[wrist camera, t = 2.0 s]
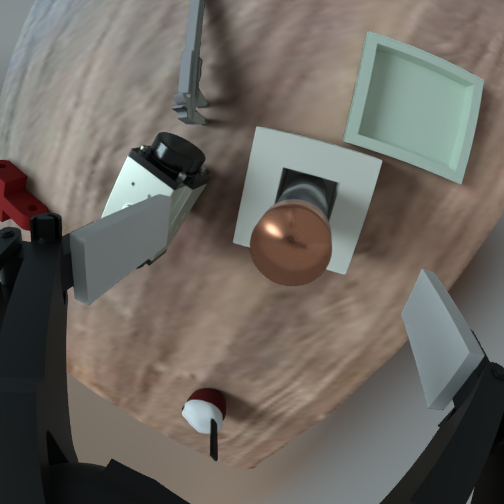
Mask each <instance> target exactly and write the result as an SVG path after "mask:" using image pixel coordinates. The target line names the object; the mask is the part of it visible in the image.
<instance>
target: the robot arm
mask: <svg viewBox="0 0 504 504" xmlns="http://www.w3.org/2000/svg"><path fill="white" fill-rule="evenodd" d="M171 200H172V197H170V196H166V195H162V194H158V195H155V196H153V197H150V198H148V199H145V200H143V201H141V202H138V203H136V204H133V205H131V206H129V207H126V208H124V209H122V210H119V211H117V212H115V213H113V214H110V215H108V216H106V217H104V218H101V219H99V220H97V221H95V222H92V223H90V224H87V225H85V226H83V227H81V228H79V229H77V230H75V231H73V232H70V233H68V234H66V235H64V236H62V219H61V216H60V215H58V214H55V213H42V214H38V215H35V216H33V217H32V218H31V219H30V232H31V242H27V241H22V236H21V230H20V229H18V228H14V227H5V228H3V229H1V230H0V279H1V282H0V504H190V503H188V502H187V501H185V500H183V499H182V498H181V497H179V496H177V495H176V494H174V493H173V492H171V491H170V490H169V489H167V488H166V487H164V486H163V485H161V484H160V483H159V482H157V481H156V480H154V479H152V478H150V477H147V476H145V475H143V474H141V473H139V472H137V471H135V470H133V469H130V468H129V467H127V466H125V465H123V464H121V463H119V462H117V461H115V460H114V459H111V460H110V462H109V464H108V465H107V467H104V466H100V465H95V464H89V463H79V462H78V459H77V456H76V453H75V450H74V446H73V442H72V435H71V427H70V418H69V407H68V393H67V372H66V327H67V306H68V294H67V290H68V289H69V288H71V287H72V286H73V287H74V296H75V299H77V300H79V301H81V302H83V303H85V304H87V305H90V304H91V303H93V302H94V301H95V300H96V299H98V298H99V297H100V296H101V295H103V294H104V293H105V292H106V291H108V290H109V289H110V288H111V287H113V286H114V285H115V284H117V283H118V282H119V281H120V280H122V279H123V278H124V277H126V276H127V275H128V274H129V273H131V272H132V271H133V270H135V269H136V268H137V267H139V266H140V265H141V264H143V263H144V262H145V261H147V260H148V259H149V258H150V257H152V256H153V255H154V254H156V253H157V252H159V251H160V250H161V249H163V248H164V247H165V246H167V235H168V226H169V217H170V208H171ZM401 316H402V319H403V322H404V325H405V328H406V331H407V334H408V337H409V340H410V344H411V347H412V350H413V354H414V357H415V361H416V364H417V368H418V371H419V375H420V379H421V383H422V387H423V391H424V394H425V399H426V403H427V407H428V409H436V410H444V409H445V407H446V406H447V405H448V404H449V403H450V401H451V400H452V399H453V402H454V406H455V407H454V408H453V409H452V411H450V413H449V414H448V415H447V416H446V417H445V418H444V419H443V420H442V422H441V423H440V424H439V425H438V426H439V427H440V426H441V427H440V428H439V430H438V431H437V433H436V434H435V436H434V437H433V439H432V440H431V441H430V443H429V444H428V446H427V447H426V448H425V450H424V451H423V453H422V454H421V455H420V456H419V458H418V459H417V460H416V462H415V463H414V464H413V466H412V467H411V468H410V469H409V471H408V472H407V473H406V474H405V476H404V477H403V478H402V479H401V480H400V481H399V483H398V484H397V485H396V486H395V487H394V488H393V490H392V491H391V492H390V493H389V494H388V495H387V496H386V497H385V499H383V501H382V502H381V503H380V504H466V502H467V501H468V499H469V497H470V495H471V493H472V491H473V489H474V492H473V496H472V501H471V504H504V368H503V367H502V366H500V365H499V364H497V363H494V362H490V361H489V360H488V358H487V356H486V354H485V352H484V350H483V348H482V347H481V345H480V343H479V341H477V340H478V339H477V337H476V335H475V334H474V332H473V331H472V330H471V329H470V328H469V326H468V325H467V323H466V321H465V320H464V318H463V316H462V315H461V313H460V311H459V310H458V308H457V306H456V305H455V303H454V302H453V300H452V299H451V297H450V295H449V294H448V292H447V291H446V289H445V288H444V286H443V285H442V283H441V282H440V280H439V279H438V277H437V276H436V274H435V273H434V272H432V271H429V270H426V269H423V268H422V270H421V272H420V274H419V277H418V279H417V281H416V283H415V286H414V288H413V290H412V292H411V294H410V296H409V298H408V300H407V303H406V305H405V307H404V309H403V311H402V313H401ZM474 487H475V488H474Z"/></svg>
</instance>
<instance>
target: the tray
mask: <svg viewBox="0 0 504 504" xmlns="http://www.w3.org/2000/svg"><path fill="white" fill-rule="evenodd" d="M483 82H484V80H482V79H481V78H479V77H477V76H475V75H473V74H472V73H470V72H468V71H466V70H464V69H462V68H460V67H458V66H456V65H454V64H452V63H450V62H448V61H446V60H444V59H441V58H439V57H437V56H435V55H432V54H430V53H428V52H425V51H423V50H421V49H418V48H416V47H413V46H411V45H408V44H405V43H403V42H400V41H397V40H394V39H391V38H389V37H386V36H383V35H379V34H376V33H373V32H370V31H368V32H367V35H366V37H365V40H364V46H363V51H362V56H361V61H360V66H359V71H358V75H357V80H356V85H355V89H354V94H353V98H352V103H351V107H350V111H349V116H348V120H347V124H346V128H345V132H344V136H343V140H342V141H344V142H347V143H351V144H354V145H357V146H360V147H363V148H367V149H370V150H373V151H376V152H379V153H382V154H385V155H387V156H390V157H393V158H396V159H399V160H401V161H404V162H407V163H409V164H412V165H415V166H417V167H420V168H422V169H425V170H427V171H430V172H432V173H435V174H437V175H440V176H442V177H444V178H447V179H449V180H451V181H454V182H456V183H458V184H460V185H461V184H462V180H463V177H464V174H465V170H466V166H467V163H468V159H469V155H470V151H471V147H472V143H473V138H474V134H475V129H476V124H477V119H478V114H479V108H480V102H481V96H482V89H483Z"/></svg>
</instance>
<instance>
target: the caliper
mask: <svg viewBox="0 0 504 504" xmlns="http://www.w3.org/2000/svg"><path fill="white" fill-rule="evenodd" d="M204 6H205V0H191V1H190V8H189V16H188V23H187V31H186V40H185V49H184V51H183V52H182V58H181V67H180V77H179V88H178V94H174V95H172V96H173V98H174V100H175V102H176V103H177V104H178V105H176V106H173V107H172V108H171V109H173V110H175V111H176V112H177V118H178V119H179V120H181V121H182V122H184V123H185V124H194V125H195V124H207V121H208V119H207V118H205V117H204V116H202V115H201V114H200V113H199V112H197V111H196V110H195V108H196V107H198V108H204V107H207V101H206V99H205V98H204V96H203V94H202V93H201V91H200V89H199V81H200V77H201V66H202V59H201V58H200V57H199V55H200V44H201V33H202V24H203V14H204Z"/></svg>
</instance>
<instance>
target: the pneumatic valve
mask: <svg viewBox="0 0 504 504" xmlns="http://www.w3.org/2000/svg"><path fill="white" fill-rule="evenodd" d="M205 159H206V158H205V155H204V154H203V152H202V151H201V150H200V149H199V148H198V147H196V146H195V145H194V144H192V143H191V142H189V141H187V140H185V139H184V138H182V137H179V136H177V135H174V134H171V133H167V132H160V133H158V135H157V136H156V138H155V140H154V142H153V144H152V146H146V145H142V146H141V147H140V148H133V149H131V151H130V153H129V155H128V157H127V159H126V161H125V163H124V166H123V168H122V170H121V172H120V174H119V176H118V179H117V181H116V183H115V186H114V188H113V190H112V193H111V195H110V197H109V200H108V202H107V205H106V207H105V210H104V212H103V215H102V217H101V218H104V217H106V216H108V215H110V214H113V213H115V212H117V211H119V210H122V209H124V208H126V207H129V206H131V205H133V204H136V203H138V202H141V201H143V200H145V199H148V198H150V197H153V196H155V195H158V194H162V195H166V196H170V197H172V200H171V208H170V217H169V226H168V235H167V246H165V247H164V248H163V249H161V250H160V251H159V252H157V253H156V254H154V255H153V256H152V257H150V258H149V259H148V260H147V261H145V262H144V263H143V264H141V265H140V266H139V267H137V268H136V269H138V268H141V267H143V266H144V265H145V264H148V265H149V266H150V265H151V264H152V263H153V262H155V261H156V260H157V259H158V258H159V257H161V256H162V255H163V254H164V253H165V252H166V250H167V249H168V247H169V245H170V244H171V242H172V240H173V238H174V237H175V235H176V233H177V232H178V230H179V228H180V227H181V225H182V223H183V222H184V220H185V218H186V217H187V215H188V213H189V212H190V210H191V208H192V207H193V205H194V204H195V202H196V200H197V199H198V197H199V196H200V194H201V192H202V191H203V189H204V188H205V186H206V185H207V183H208V181H209V180H210V178H211V177H210V176H208V174H209V172H210V171H208V170H207V169H206V168H205V167H203V166H202V165H203V163H204V161H205Z"/></svg>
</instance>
